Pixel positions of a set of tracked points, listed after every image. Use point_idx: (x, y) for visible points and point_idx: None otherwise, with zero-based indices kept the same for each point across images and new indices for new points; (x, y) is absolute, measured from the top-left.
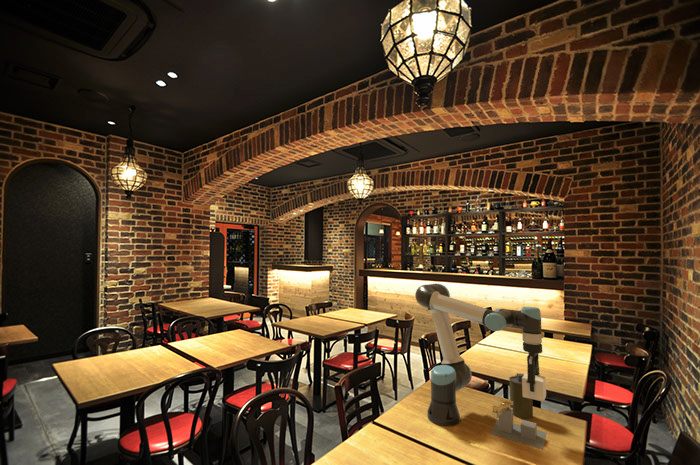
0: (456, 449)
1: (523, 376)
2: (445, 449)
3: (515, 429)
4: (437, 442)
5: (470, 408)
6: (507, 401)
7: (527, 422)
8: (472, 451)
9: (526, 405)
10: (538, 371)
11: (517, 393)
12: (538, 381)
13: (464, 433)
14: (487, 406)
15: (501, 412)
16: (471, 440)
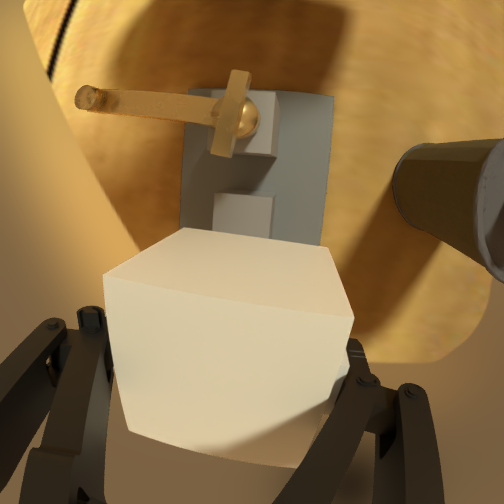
0: (78, 53)
1: (166, 295)
2: (70, 37)
3: (276, 165)
4: (90, 9)
5: (382, 5)
6: (218, 125)
7: (253, 219)
8: (84, 84)
9: (422, 217)
10: (376, 452)
11: (444, 179)
12: (124, 407)
13: (164, 26)
14: (442, 63)
15: (143, 116)
16: (133, 57)
